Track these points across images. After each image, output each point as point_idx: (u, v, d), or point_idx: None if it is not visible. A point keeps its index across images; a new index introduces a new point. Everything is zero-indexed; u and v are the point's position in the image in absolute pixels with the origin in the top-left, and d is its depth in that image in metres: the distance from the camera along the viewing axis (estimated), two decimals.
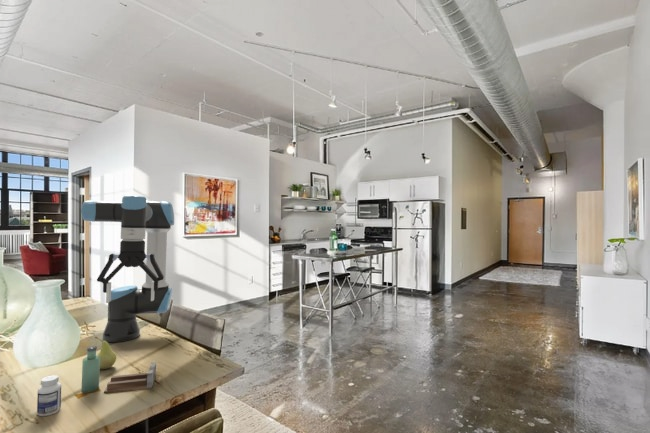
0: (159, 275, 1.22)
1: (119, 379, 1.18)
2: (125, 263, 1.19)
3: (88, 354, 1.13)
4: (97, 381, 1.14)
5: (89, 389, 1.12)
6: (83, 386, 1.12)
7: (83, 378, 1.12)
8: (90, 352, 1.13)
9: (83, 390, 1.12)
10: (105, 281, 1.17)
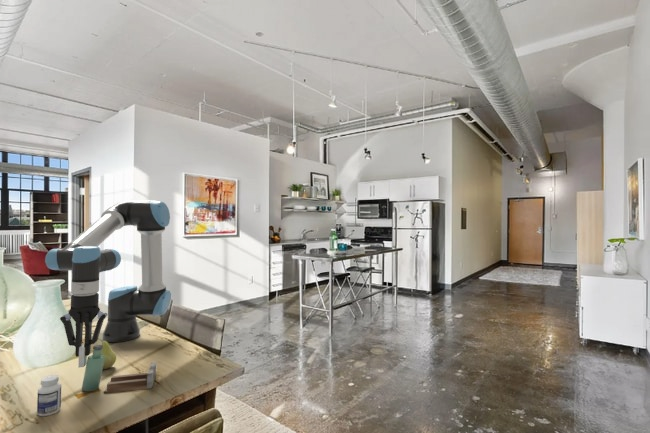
0: (93, 338, 1.13)
1: (119, 379, 1.18)
2: (80, 319, 1.12)
3: (94, 353, 1.14)
4: (98, 381, 1.14)
5: (90, 388, 1.12)
6: (84, 384, 1.12)
7: (85, 376, 1.12)
8: (96, 351, 1.14)
9: (83, 388, 1.12)
10: (77, 344, 1.12)
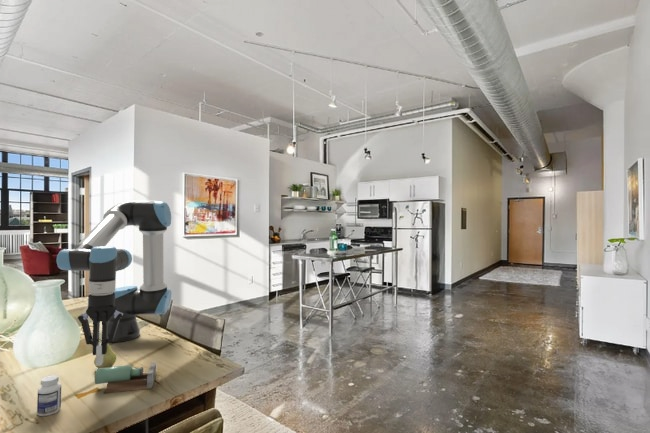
0: (110, 337, 1.15)
1: None
2: (97, 318, 1.14)
3: (136, 370, 1.18)
4: None
5: (97, 379, 1.13)
6: (102, 372, 1.14)
7: (111, 371, 1.15)
8: (138, 372, 1.18)
9: (97, 373, 1.13)
10: (94, 343, 1.14)
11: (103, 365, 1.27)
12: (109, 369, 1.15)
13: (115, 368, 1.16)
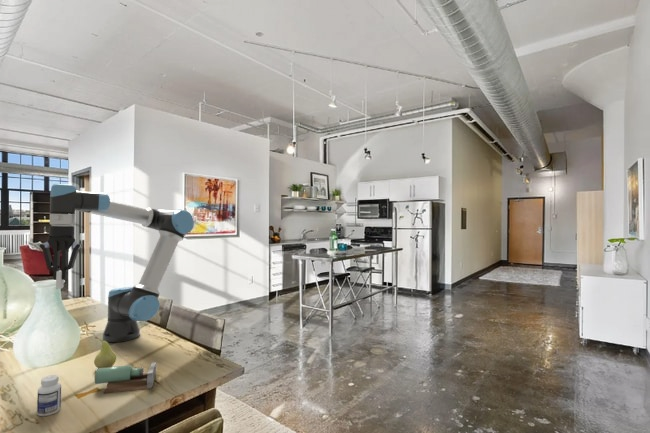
0: (69, 264, 1.30)
1: None
2: (57, 246, 1.29)
3: (136, 370, 1.18)
4: None
5: (97, 379, 1.13)
6: (102, 372, 1.14)
7: (111, 371, 1.15)
8: (138, 372, 1.18)
9: (97, 373, 1.13)
10: (55, 269, 1.28)
11: (103, 365, 1.27)
12: (109, 369, 1.15)
13: (115, 368, 1.16)
